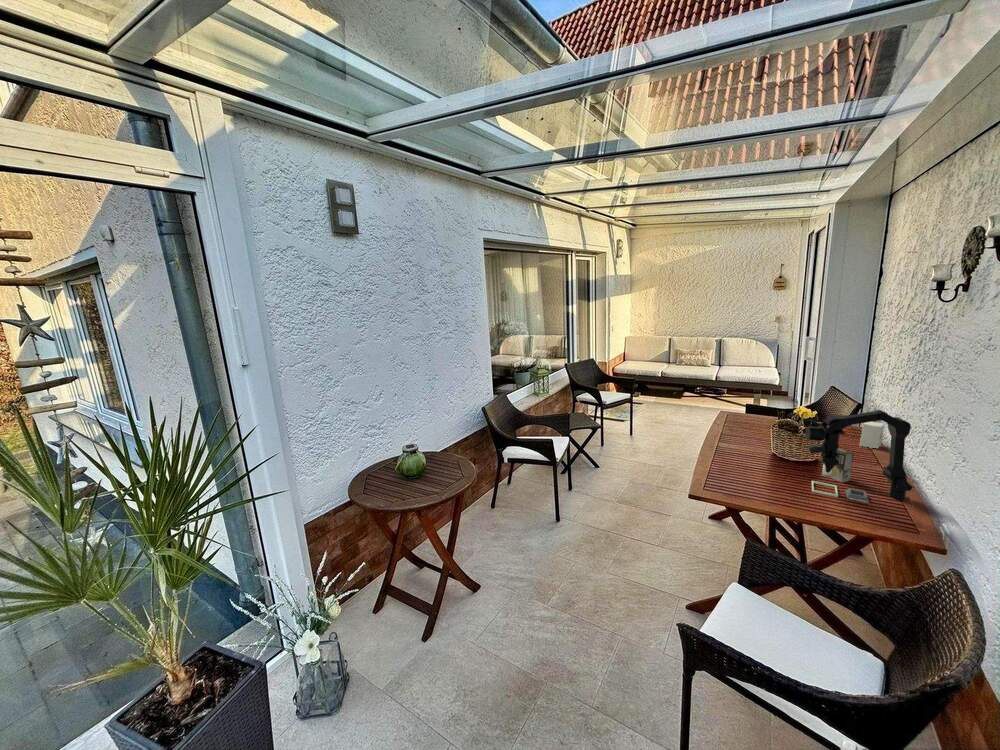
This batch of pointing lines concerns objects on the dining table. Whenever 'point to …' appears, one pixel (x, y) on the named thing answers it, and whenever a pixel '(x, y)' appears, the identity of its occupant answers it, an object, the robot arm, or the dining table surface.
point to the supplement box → (872, 434)
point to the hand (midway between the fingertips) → (827, 470)
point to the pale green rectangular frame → (824, 492)
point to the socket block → (857, 495)
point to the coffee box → (843, 466)
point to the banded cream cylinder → (826, 472)
